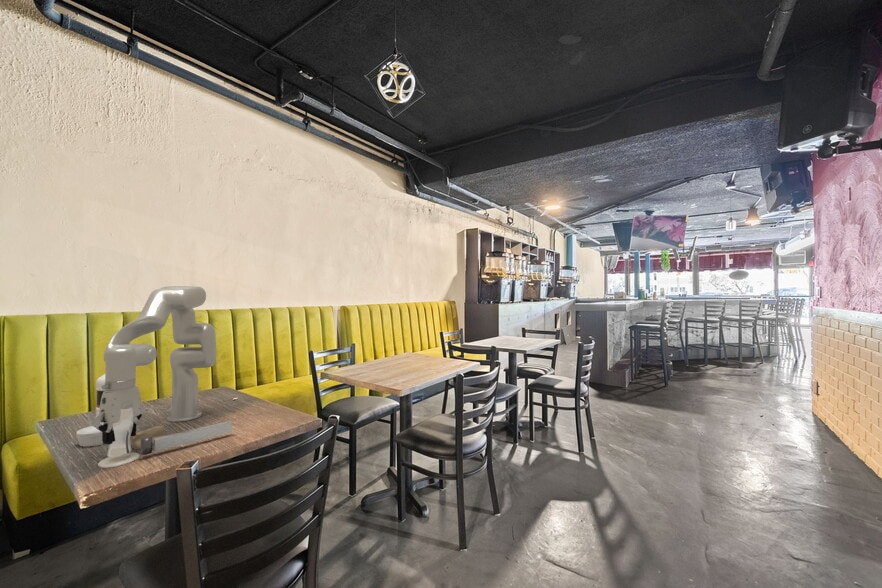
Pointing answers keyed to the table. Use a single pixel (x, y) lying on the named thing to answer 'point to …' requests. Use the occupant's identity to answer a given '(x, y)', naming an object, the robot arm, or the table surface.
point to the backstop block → (147, 435)
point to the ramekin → (89, 436)
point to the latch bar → (184, 437)
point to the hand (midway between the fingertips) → (119, 439)
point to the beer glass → (122, 434)
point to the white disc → (118, 460)
